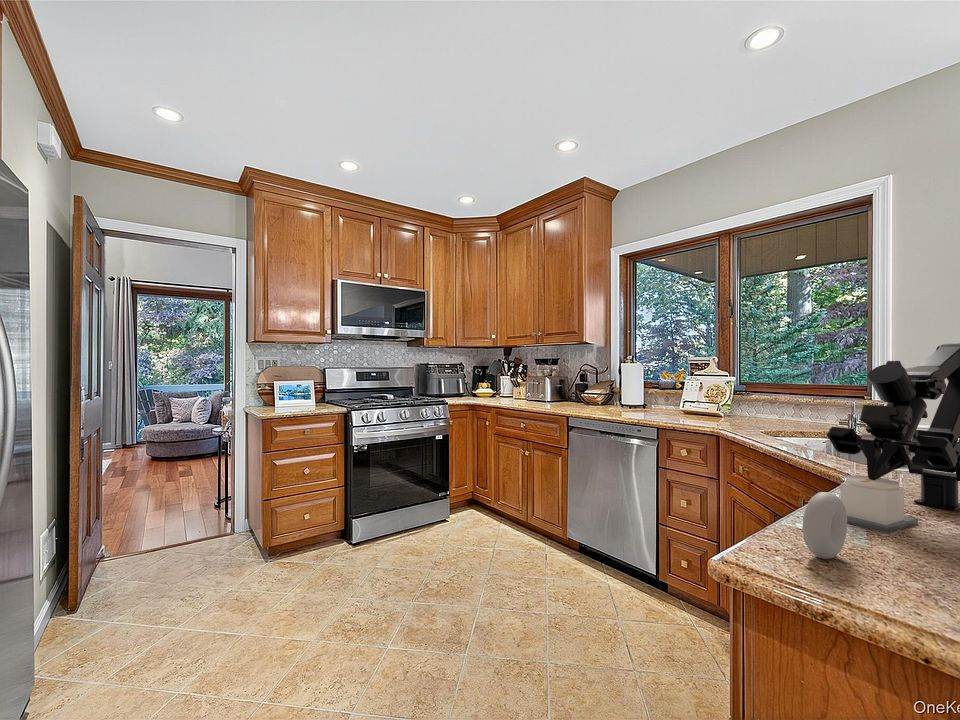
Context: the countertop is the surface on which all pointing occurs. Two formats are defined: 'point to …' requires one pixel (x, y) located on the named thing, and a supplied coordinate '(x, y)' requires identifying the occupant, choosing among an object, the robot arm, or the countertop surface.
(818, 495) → the donut
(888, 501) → the knob
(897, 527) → the plate
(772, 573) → the countertop surface
